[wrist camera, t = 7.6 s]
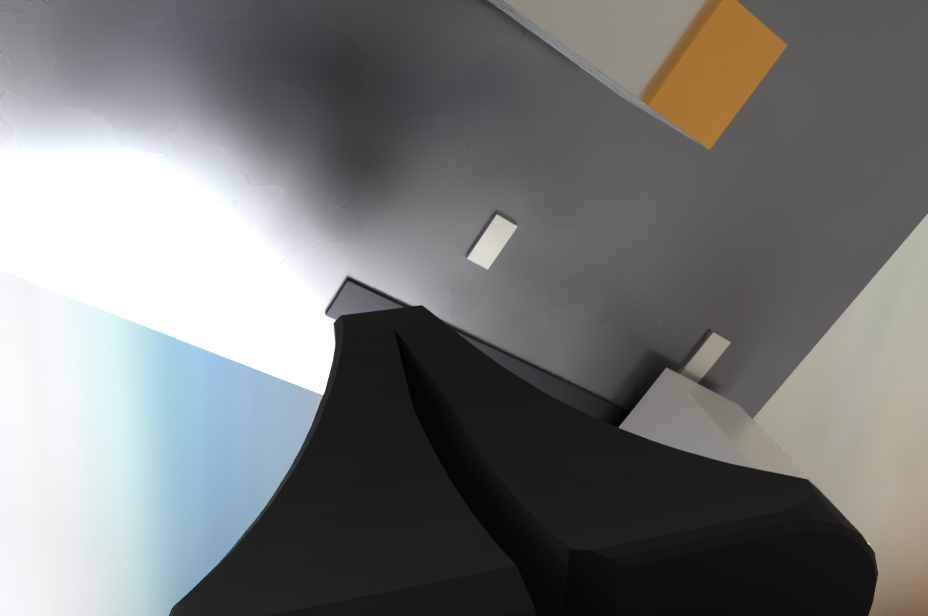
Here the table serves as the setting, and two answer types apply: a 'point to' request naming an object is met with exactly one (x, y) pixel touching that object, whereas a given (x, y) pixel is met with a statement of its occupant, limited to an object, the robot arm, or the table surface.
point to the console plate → (455, 185)
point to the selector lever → (662, 53)
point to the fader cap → (705, 426)
